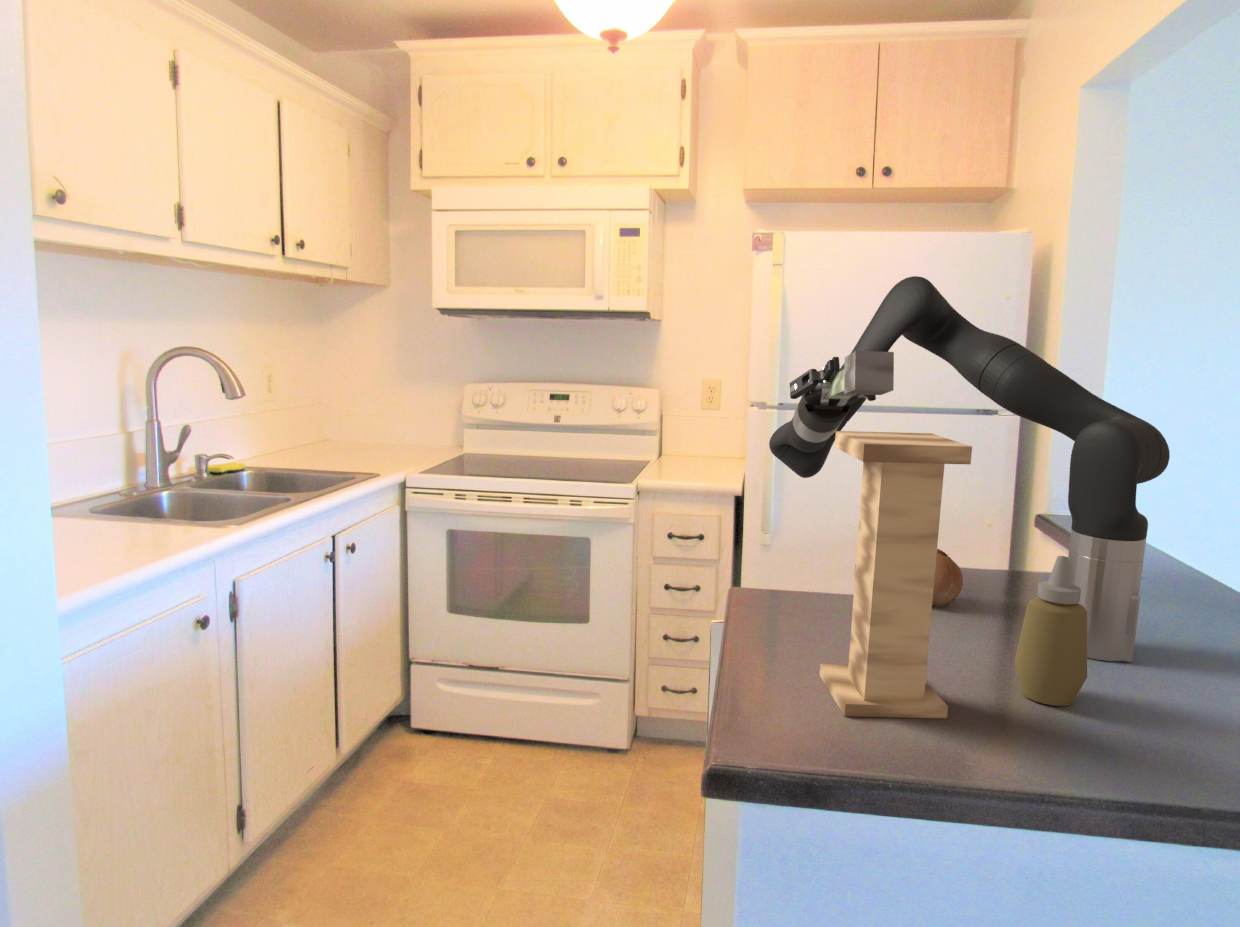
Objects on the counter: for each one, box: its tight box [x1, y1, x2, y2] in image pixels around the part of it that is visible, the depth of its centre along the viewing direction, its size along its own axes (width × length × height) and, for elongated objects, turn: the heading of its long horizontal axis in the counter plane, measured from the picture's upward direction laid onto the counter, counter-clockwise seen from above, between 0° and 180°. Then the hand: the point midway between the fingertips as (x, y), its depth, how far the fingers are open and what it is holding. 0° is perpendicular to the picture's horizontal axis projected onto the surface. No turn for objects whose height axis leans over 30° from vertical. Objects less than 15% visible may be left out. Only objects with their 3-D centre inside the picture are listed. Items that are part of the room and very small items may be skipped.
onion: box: [932, 548, 964, 607], centre depth 140 cm, size 10×9×10 cm
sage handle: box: [826, 351, 895, 399], centre depth 119 cm, size 18×5×5 cm, turn 1°
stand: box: [819, 430, 973, 719], centre depth 102 cm, size 12×12×32 cm
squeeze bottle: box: [1014, 555, 1088, 707], centre depth 104 cm, size 8×8×18 cm
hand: (849, 363), depth 121 cm, fingers closed on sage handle, 3 cm apart
